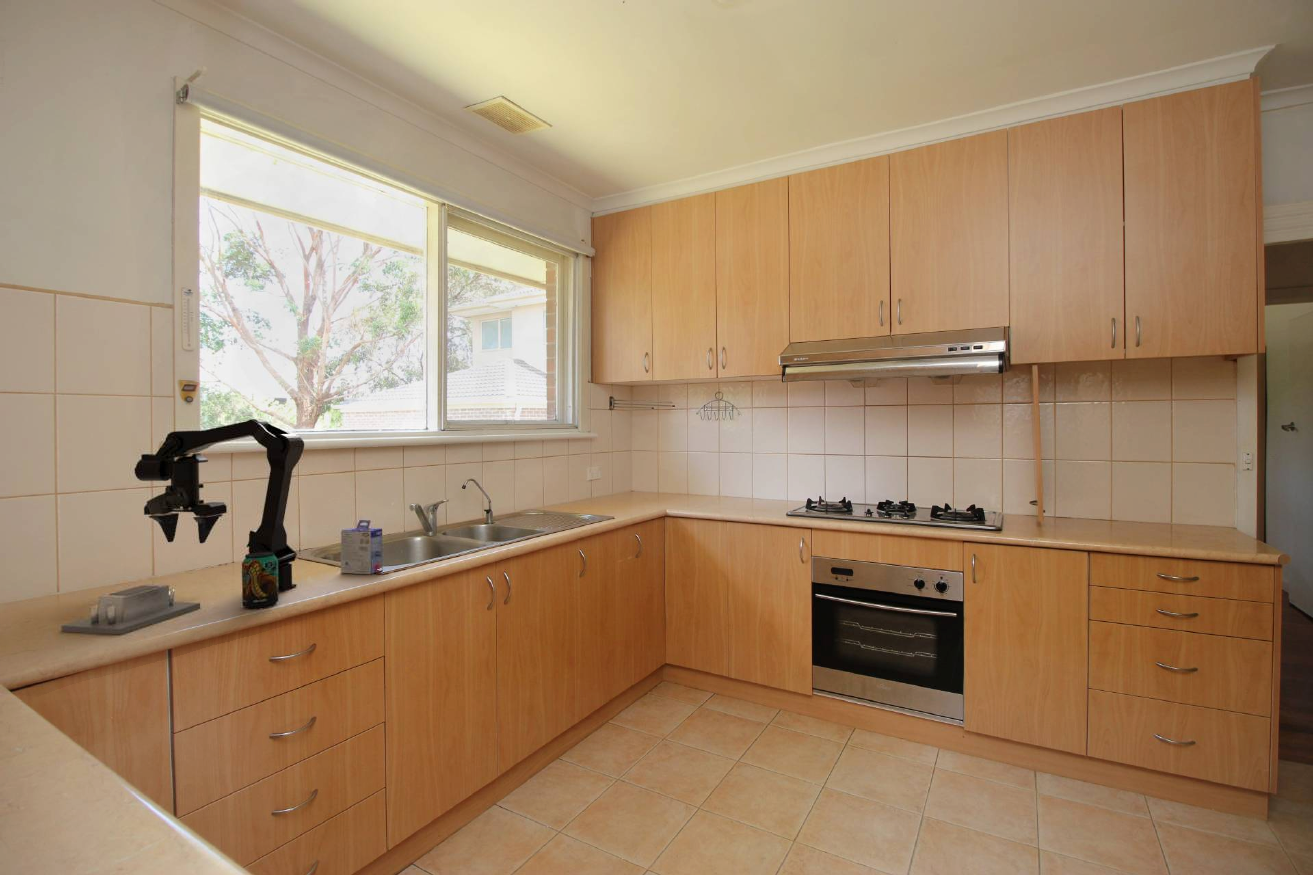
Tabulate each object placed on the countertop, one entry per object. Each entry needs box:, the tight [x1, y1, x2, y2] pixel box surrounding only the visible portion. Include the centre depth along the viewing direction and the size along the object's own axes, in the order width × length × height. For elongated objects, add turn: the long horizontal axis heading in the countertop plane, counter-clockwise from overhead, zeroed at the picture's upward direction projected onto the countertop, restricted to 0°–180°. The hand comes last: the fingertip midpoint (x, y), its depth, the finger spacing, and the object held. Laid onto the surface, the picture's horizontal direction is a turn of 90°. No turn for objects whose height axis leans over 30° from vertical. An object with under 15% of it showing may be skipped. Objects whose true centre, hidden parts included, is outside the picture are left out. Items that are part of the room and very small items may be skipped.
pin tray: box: [60, 588, 201, 635], centre depth 133 cm, size 14×18×5 cm
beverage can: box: [241, 552, 280, 610], centre depth 143 cm, size 7×7×12 cm
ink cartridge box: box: [340, 519, 383, 575], centre depth 175 cm, size 10×6×14 cm, turn 78°
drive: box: [98, 583, 170, 622], centre depth 133 cm, size 6×10×5 cm, turn 170°
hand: (186, 542), depth 156 cm, fingers open, 9 cm apart
